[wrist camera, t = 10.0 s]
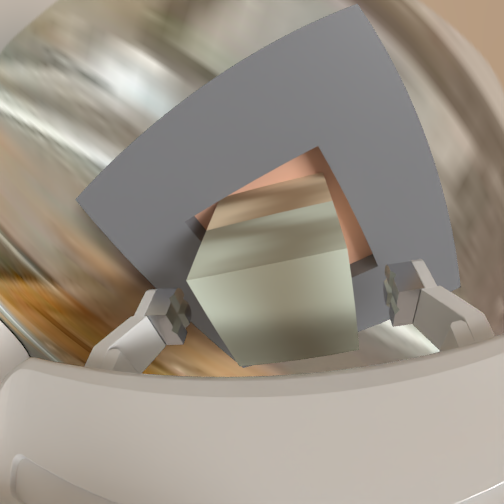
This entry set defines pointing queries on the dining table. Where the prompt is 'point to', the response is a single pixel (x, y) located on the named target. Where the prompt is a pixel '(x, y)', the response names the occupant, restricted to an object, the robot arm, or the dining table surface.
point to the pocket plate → (286, 163)
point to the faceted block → (277, 274)
